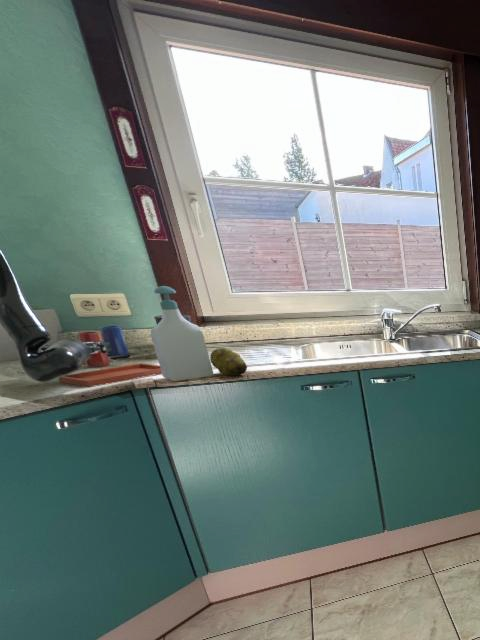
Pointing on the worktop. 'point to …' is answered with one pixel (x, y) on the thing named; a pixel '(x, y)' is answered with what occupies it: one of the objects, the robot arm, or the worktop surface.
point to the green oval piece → (228, 362)
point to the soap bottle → (179, 343)
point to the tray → (111, 374)
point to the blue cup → (115, 341)
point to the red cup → (97, 358)
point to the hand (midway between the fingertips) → (82, 345)
